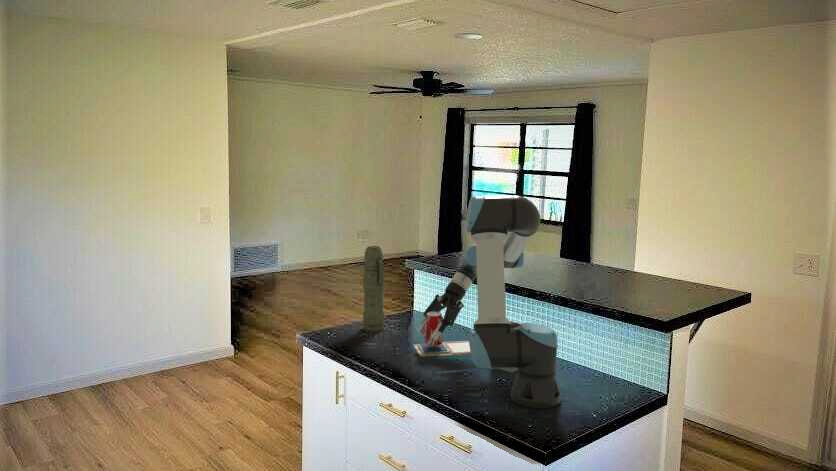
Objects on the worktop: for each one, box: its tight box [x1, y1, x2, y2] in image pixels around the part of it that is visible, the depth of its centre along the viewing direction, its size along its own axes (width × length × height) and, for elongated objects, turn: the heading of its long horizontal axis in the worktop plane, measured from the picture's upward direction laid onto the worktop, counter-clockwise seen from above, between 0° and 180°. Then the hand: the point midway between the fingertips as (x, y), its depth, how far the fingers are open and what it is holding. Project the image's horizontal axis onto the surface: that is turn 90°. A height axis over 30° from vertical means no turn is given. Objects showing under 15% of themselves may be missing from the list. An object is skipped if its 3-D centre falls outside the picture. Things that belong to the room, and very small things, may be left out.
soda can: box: [423, 311, 444, 346], centre depth 236 cm, size 7×7×12 cm
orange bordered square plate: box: [442, 340, 471, 355], centre depth 240 cm, size 13×13×1 cm
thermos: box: [362, 245, 385, 333], centre depth 262 cm, size 9×12×35 cm
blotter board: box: [412, 343, 471, 358], centre depth 239 cm, size 14×26×1 cm, turn 102°
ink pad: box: [417, 342, 450, 355], centre depth 237 cm, size 10×10×1 cm
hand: (426, 335), depth 234 cm, fingers closed on soda can, 7 cm apart
